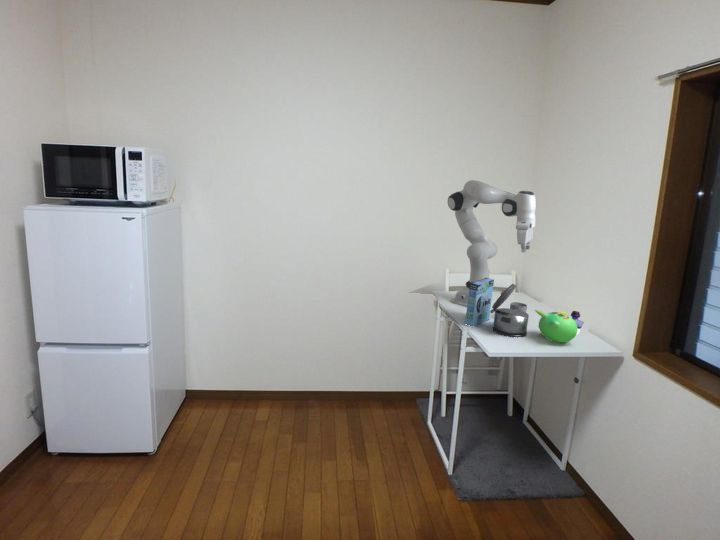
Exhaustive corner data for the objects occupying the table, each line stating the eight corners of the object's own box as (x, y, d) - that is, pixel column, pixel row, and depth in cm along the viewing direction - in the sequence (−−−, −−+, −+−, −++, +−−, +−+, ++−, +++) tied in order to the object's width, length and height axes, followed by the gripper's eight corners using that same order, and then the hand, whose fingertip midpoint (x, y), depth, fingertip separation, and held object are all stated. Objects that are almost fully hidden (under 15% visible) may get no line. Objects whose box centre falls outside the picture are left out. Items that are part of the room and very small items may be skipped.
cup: (508, 322, 238) (510, 305, 236) (508, 318, 246) (510, 301, 244) (524, 325, 236) (527, 307, 234) (524, 321, 243) (527, 303, 241)
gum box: (481, 317, 245) (485, 277, 240) (489, 320, 242) (494, 279, 237) (464, 325, 230) (469, 282, 226) (473, 327, 227) (478, 284, 223)
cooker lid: (488, 316, 220) (482, 310, 222) (498, 309, 233) (493, 304, 235) (510, 289, 212) (504, 283, 214) (520, 283, 225) (513, 278, 227)
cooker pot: (486, 333, 220) (488, 313, 218) (499, 323, 237) (501, 305, 235) (520, 341, 210) (523, 321, 208) (531, 330, 228) (534, 312, 226)
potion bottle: (559, 332, 228) (563, 309, 225) (570, 330, 232) (573, 308, 230) (574, 337, 221) (578, 314, 218) (585, 335, 225) (589, 313, 222)
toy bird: (582, 346, 208) (587, 316, 206) (553, 348, 204) (557, 318, 201) (556, 333, 225) (560, 305, 222) (528, 335, 220) (532, 306, 217)
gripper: (524, 221, 233) (523, 247, 236) (514, 225, 216) (514, 253, 219) (536, 221, 230) (536, 247, 232) (528, 226, 213) (527, 254, 215)
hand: (525, 250), depth 225 cm, fingers open, 8 cm apart
